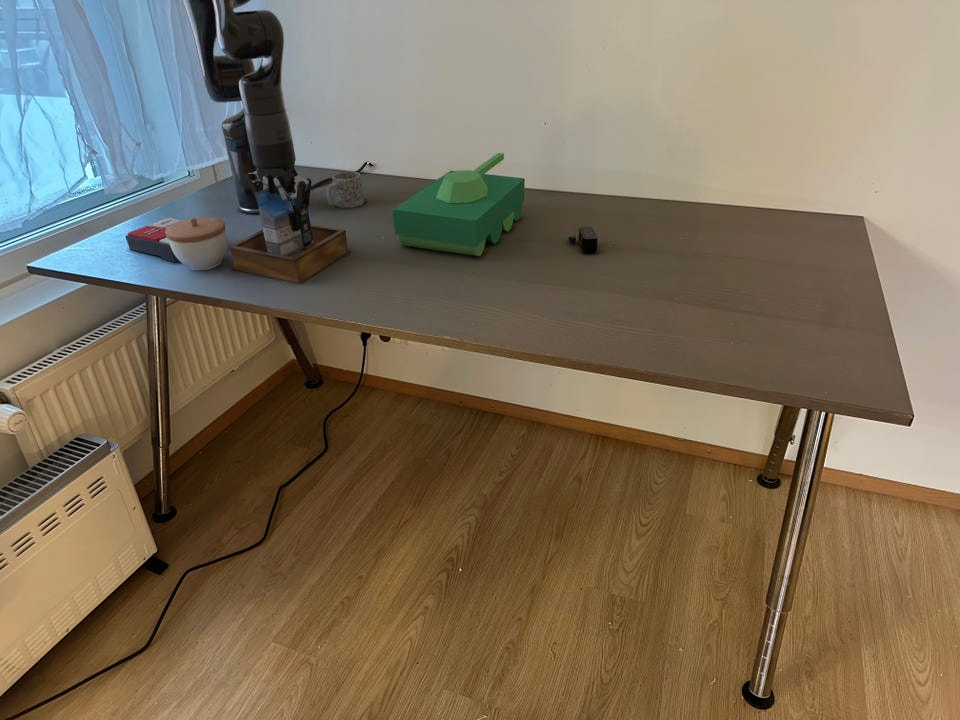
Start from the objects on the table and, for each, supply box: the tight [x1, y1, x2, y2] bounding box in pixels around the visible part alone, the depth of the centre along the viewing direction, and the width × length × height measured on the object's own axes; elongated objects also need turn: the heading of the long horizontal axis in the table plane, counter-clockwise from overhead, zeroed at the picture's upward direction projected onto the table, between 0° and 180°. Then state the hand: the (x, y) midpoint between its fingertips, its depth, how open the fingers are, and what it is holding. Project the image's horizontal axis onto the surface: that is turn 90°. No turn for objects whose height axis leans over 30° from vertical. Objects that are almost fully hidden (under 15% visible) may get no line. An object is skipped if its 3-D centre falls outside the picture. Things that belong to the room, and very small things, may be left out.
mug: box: [325, 170, 365, 209], centre depth 156 cm, size 10×7×7 cm
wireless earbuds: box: [567, 226, 599, 255], centre depth 131 cm, size 5×7×3 cm, turn 2°
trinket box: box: [165, 216, 229, 271], centre depth 128 cm, size 11×11×9 cm
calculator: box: [124, 217, 182, 263], centre depth 137 cm, size 11×4×15 cm
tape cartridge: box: [255, 190, 314, 256], centre depth 126 cm, size 9×4×12 cm, turn 148°
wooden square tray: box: [227, 223, 349, 284], centre depth 129 cm, size 16×16×5 cm
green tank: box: [392, 152, 526, 257], centre depth 141 cm, size 18×12×35 cm
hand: (287, 227), depth 127 cm, fingers closed on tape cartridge, 4 cm apart
